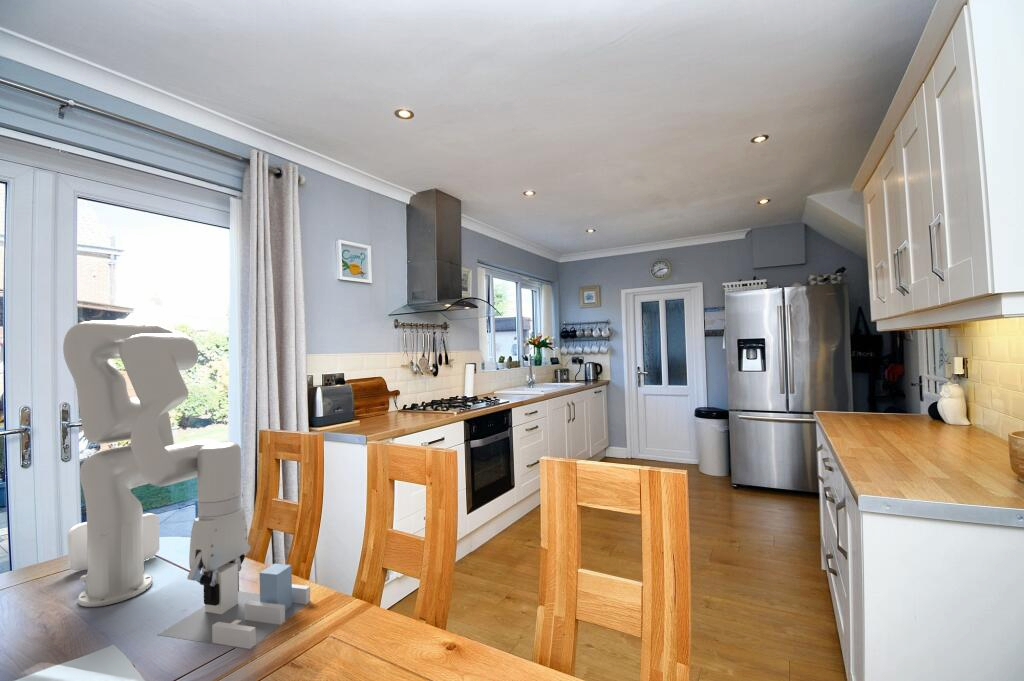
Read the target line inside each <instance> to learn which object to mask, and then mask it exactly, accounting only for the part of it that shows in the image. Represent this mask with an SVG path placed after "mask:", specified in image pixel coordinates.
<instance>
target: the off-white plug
mask: <svg viewBox="0 0 1024 681" xmlns="http://www.w3.org/2000/svg"><path fill="white" fill-rule="evenodd" d="M210 574H211V572H209V573H208V576H209V577H210ZM216 584H219V604H218V605H216V606H214V605H207V604H204V606H205V612H210V613H217V614H223V613H224V612H226V611H227V610H229V609H230V608H232V607H233V606H235V605H236V604H238V564H236V563H227V564H225V565H223V566H221V567H219V568H218V575H217V583H216Z"/></svg>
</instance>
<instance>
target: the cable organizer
mask: <svg viewBox="0 0 1024 681" xmlns="http://www.w3.org/2000/svg"><path fill="white" fill-rule="evenodd" d="M159 551H160V517H159V515H158V514H155V513H151V512H148V513H143V555H144V560H146V559H148V558H150V559H151V558H153V557H154V556H156V555H157V554H158V553H159ZM67 566H68V568H69V569H70V570H74V571H88V561H87V521H85V522H80V523H77V524H75V525H74V526H72V527H71V528H70V529H69V530H68V531H67Z"/></svg>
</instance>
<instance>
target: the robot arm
mask: <svg viewBox="0 0 1024 681" xmlns="http://www.w3.org/2000/svg"><path fill="white" fill-rule="evenodd" d="M62 351H63V352H62V353H63V359H64V360H65V363H66V366H67V368H68V370H69V372H70V375H71V377H72V379H73V381H74V385H75V388H76V394H77V401H78V407H79V408H78V409H79V414H80V419H81V426H82V432H83V434H84V435H83V436H84V437H85V439H86V440H87V441H88V442H90V443H92V444H94V445H95V444H96V445H100V444H112V443H117V442H123V441H128V440H130V445H125V446H120V447H114V448H110V449H104V450H102V451H99V452H96V453H94V454H92V455H90V456H89V457H88V458H86V459H85V460H84V461H83V462H82V463H81V466H80V469H79V481H80V484H81V487H82V490H83V496H84V500H85V510H86V522H87V561H88V569H87V572H86V574H83V575H81V576H80V577H79V582H81V583H85V589H84V590H83V591H81V592H80V593H79V595H78V597H77V604H79V605H80V606H82V607H86V608H95V607H97V608H98V607H104V606H110V605H113V604H117V603H121V602H124V601H126V600H129V599H132V598H134V597H137V596H138V595H140V594H142V593H144V592H145V591H147V590H148V589H149V588H150V587H151V586H152V585H151V584H153V577H152V576H151V575H150V574H147V573H145V569H144V568H145V567H144V566H145V564H144V563H145V561H144V555H143V515H144V510H143V506H142V503H141V501H140V500H139V499H138V498H137V496H135V495H134V494H133V493H132V491H131V490H132V489H134V488H137V487H142V486H145V485H149V484H150V485H151V486H155V487H166V486H171V485H175V484H178V483H182V482H185V481H188V480H191V479H196V480H197V517H196V518H194V519H193V520H194V521H193V523H192V528H191V535H190V540H189V541H190V542H189V556H188V558H189V561H188V562H189V564H188V565H189V569H190V571H189V572H188V574H187V578H186V579H187V580H190V581H194V582H197V583H198V584H200V585H201V586H203V605H205V604H207V605H214V606H216V605H218V604H219V584H216V583H217V575H218V568H219V567H221V566H223V565H225V564H227V563H236V564H238V592H239V591H240V575H239V574H240V573H239V572H240V571H241V570H242V564H243V562H244V561H245V558H246V556H247V554H248V553H249V552H250V551H251V548H252V547H251V545H250V544H249V542H248V541H249V540H248V539H249V537H248V536H249V535H248V525H247V519H246V517H247V516H246V513H245V509H244V508H245V507H244V506H243V498H244V493H243V490H242V488H243V486H242V485H243V484H242V449H241V447H240V445H239V444H238V443H236V442H233V441H232V442H229V441H227V442H224V441H223V442H220V441H218V440H215V439H212V438H201V439H197V440H191V441H185V442H181V443H174V442H175V440H174V436H173V435H174V434H173V431H172V430H173V429H172V428H173V427H172V424H171V416H170V413H169V411H171V410H173V409H175V408H177V407H178V406H180V405H181V404H183V403H184V402H185V401H186V400H187V398H188V397H189V393H190V392H189V390H188V387H187V385H186V383H185V381H184V378H183V377H182V373H181V372H180V371H186V370H190V369H191V368H193V367H194V366H195V365H197V362H198V360H199V349H198V347H197V345H196V343H195V341H194V340H193V339H192V338H191V337H190V336H189V335H187V334H185V333H183V332H180V331H177V330H175V329H173V328H170V327H167V326H164V325H162V324H158V323H155V322H149V321H147V322H144V321H124V320H122V321H121V320H89V321H82V322H79V323H76V324H74V325H73V326H71V327H70V328H69V329H68V330H67V332H66V334H65V336H64V339H63V345H62ZM112 359H114V360H115V359H117V360H118V359H120V360H121V363H122V365H123V367H124V369H125V372H126V374H127V377H128V379H129V381H130V383H131V385H132V389H133V390H134V392H135V395H136V397H130V396H129V392H128V388H127V387H128V386H127V381H126V378H125V377H124V375H123V373H122V372H121V371H120V370H119V369H118V368H117V367H116V366H115V365H114V364H113V363H111V362H110V361H108V360H112ZM209 572H211V574H210V577H209V576H208V573H209ZM146 589H147V590H146Z"/></svg>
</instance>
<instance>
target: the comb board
mask: <svg viewBox="0 0 1024 681" xmlns="http://www.w3.org/2000/svg"><path fill="white" fill-rule="evenodd" d="M311 601H312V600H311V586H310V585H302V584H295V583H292V606H291V607H290V608H288V609H287V610H286V611H285V605H280V604H273V603H265V602H260V593H254V592H245V591H240V590H239V592H238V604H236V605H235V606H233V607H232V608H230V609H229V610H227V611H226V612H224V613H223V614H217V613H210V612H205V605H204V606H202V607H201V608H198V609H197V610H196V611H194V612H192V613H191V614H189V615H188V616H186V617H185V618H183V619H181V620H180V621H178V622H176V623H174V624H173V625H171V626H170V627H168V628H166V629H165V630H163V631H162V632H160V633H158V634H157V636H160V637H166V638H167V637H168V638H173V639H179V640H187V641H192V642H198V643H203V644H210V645H211V644H212V645H217V646H222V647H223V646H225V647H229V648H236V649H240V650H242V649H243V650H248V651H250V650H251V649H252V648H254V647H255V646H256V645H257V644H259V643H260V642H262V641H263V640H264V639H265V638H266V637H267V636H269V635H270V634H271V633H272V632H274V631H275V630H276V629H277V628H279V627H281V625H283V624H284V623H285V622H286V621H288V620H290V618H291V617H293V616H294V615H295V614H296V613H297V612H299V611H300V610H301V609H303V608H304V607H305V606H307V604H309V603H310V602H311Z"/></svg>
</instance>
